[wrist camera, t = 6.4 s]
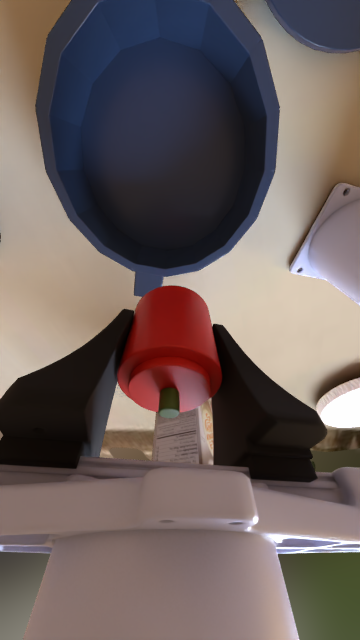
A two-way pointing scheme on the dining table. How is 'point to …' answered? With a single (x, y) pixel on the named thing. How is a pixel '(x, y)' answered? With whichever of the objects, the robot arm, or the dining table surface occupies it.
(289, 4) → the pot lid
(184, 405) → the pepper
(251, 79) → the pot
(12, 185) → the dining table surface
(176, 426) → the coffee box
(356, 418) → the plastic lid
